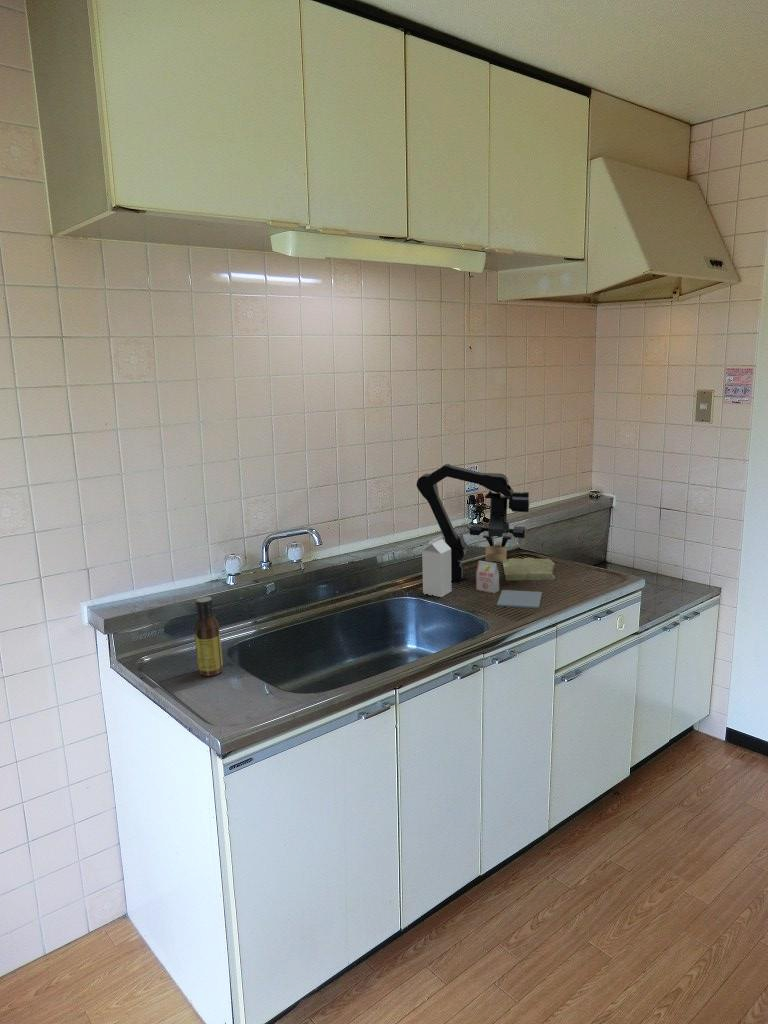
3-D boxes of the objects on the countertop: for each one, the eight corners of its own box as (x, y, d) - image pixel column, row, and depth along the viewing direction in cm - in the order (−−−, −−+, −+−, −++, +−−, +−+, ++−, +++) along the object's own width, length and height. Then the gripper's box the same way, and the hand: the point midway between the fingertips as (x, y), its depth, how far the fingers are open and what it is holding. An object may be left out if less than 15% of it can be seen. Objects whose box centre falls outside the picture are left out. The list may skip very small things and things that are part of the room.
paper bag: (481, 587, 250) (481, 559, 248) (499, 590, 246) (499, 562, 244) (476, 590, 247) (475, 561, 245) (493, 593, 243) (493, 564, 241)
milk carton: (451, 591, 246) (451, 537, 242) (441, 597, 240) (440, 541, 237) (433, 588, 250) (432, 534, 246) (422, 594, 244) (421, 539, 240)
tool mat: (496, 606, 231) (496, 604, 231) (502, 591, 245) (502, 589, 245) (538, 608, 227) (538, 606, 227) (541, 593, 241) (541, 592, 241)
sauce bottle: (207, 666, 191) (201, 593, 187) (228, 669, 189) (222, 595, 185) (192, 676, 185) (186, 601, 181) (213, 679, 183) (207, 603, 179)
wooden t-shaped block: (485, 560, 251) (485, 546, 250) (489, 552, 261) (490, 538, 260) (506, 561, 249) (506, 547, 248) (509, 553, 259) (509, 539, 258)
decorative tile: (505, 582, 257) (505, 572, 257) (501, 566, 277) (502, 556, 276) (559, 582, 255) (559, 572, 255) (552, 566, 275) (552, 556, 274)
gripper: (467, 514, 246) (466, 559, 249) (524, 517, 241) (522, 563, 244) (472, 507, 256) (471, 551, 259) (526, 510, 251) (525, 554, 255)
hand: (497, 554), depth 254 cm, fingers closed on wooden t-shaped block, 2 cm apart
